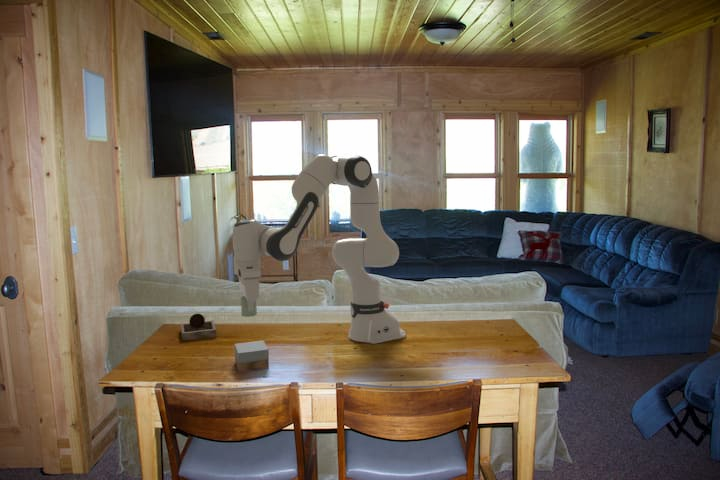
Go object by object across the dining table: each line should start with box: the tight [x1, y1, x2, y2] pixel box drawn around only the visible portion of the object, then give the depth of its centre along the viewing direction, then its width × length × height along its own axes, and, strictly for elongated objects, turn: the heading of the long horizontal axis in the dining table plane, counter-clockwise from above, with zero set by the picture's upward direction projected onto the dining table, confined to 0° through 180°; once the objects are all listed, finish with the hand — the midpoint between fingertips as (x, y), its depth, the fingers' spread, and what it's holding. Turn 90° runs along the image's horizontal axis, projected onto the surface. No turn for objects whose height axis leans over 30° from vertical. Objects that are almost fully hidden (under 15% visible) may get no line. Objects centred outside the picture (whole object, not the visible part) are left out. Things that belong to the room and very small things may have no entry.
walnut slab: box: [234, 353, 270, 373], centre depth 198 cm, size 10×10×4 cm
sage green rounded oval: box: [240, 295, 257, 318], centre depth 195 cm, size 5×5×6 cm
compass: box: [188, 312, 210, 331], centre depth 234 cm, size 8×8×7 cm
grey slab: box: [234, 340, 270, 363], centre depth 198 cm, size 10×10×4 cm
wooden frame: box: [180, 320, 217, 341], centre depth 232 cm, size 13×13×3 cm
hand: (249, 307), depth 195 cm, fingers closed on sage green rounded oval, 5 cm apart
